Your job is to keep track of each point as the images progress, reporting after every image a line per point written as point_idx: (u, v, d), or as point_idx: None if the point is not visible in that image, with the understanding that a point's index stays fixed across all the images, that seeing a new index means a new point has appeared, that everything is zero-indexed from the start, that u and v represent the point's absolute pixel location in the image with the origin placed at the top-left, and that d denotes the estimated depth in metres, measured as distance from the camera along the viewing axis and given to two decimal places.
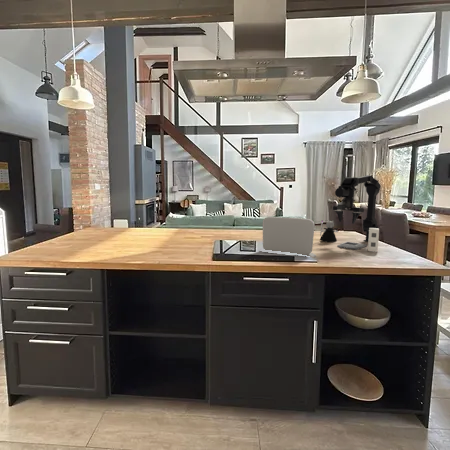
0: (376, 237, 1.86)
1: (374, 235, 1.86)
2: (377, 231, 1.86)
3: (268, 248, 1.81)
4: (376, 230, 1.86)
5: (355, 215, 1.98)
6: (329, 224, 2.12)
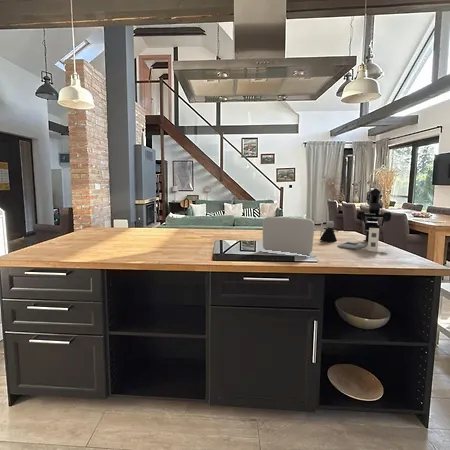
0: (376, 237, 1.86)
1: (374, 235, 1.86)
2: (377, 231, 1.86)
3: (268, 248, 1.81)
4: (376, 230, 1.86)
5: None
6: (329, 224, 2.12)
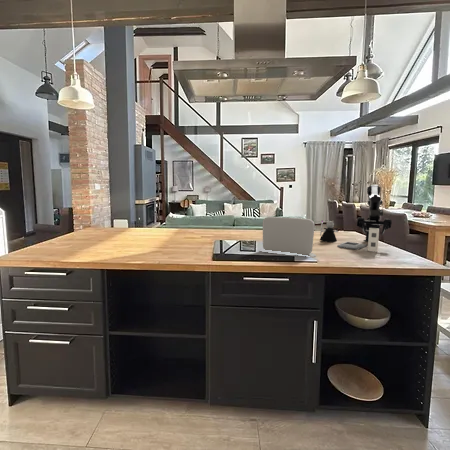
0: (376, 237, 1.86)
1: (374, 235, 1.86)
2: (377, 231, 1.86)
3: (268, 248, 1.81)
4: (376, 230, 1.86)
5: None
6: (329, 224, 2.12)
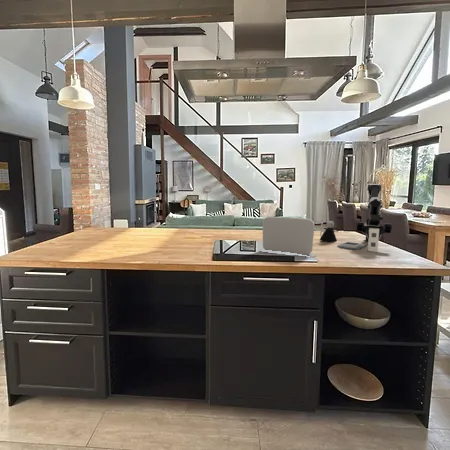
0: (376, 237, 1.86)
1: (374, 235, 1.86)
2: (377, 231, 1.86)
3: (268, 248, 1.81)
4: (376, 230, 1.86)
5: None
6: (329, 224, 2.12)
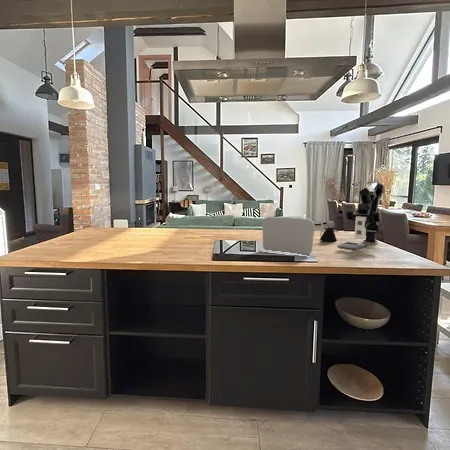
0: (361, 225, 1.90)
1: (360, 223, 1.90)
2: (363, 219, 1.89)
3: (268, 248, 1.81)
4: (362, 218, 1.89)
5: None
6: (329, 224, 2.12)
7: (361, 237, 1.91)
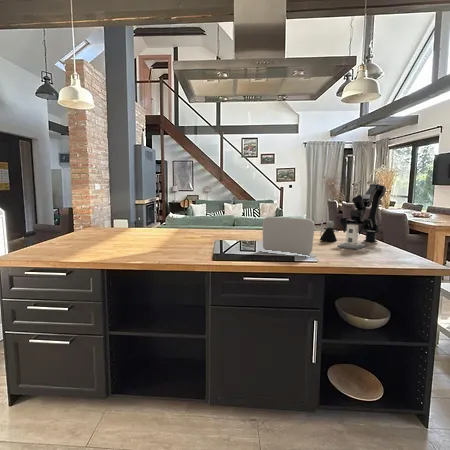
0: (352, 233, 1.94)
1: (351, 231, 1.94)
2: (353, 227, 1.93)
3: (268, 248, 1.81)
4: (352, 226, 1.93)
5: None
6: (329, 224, 2.12)
7: None
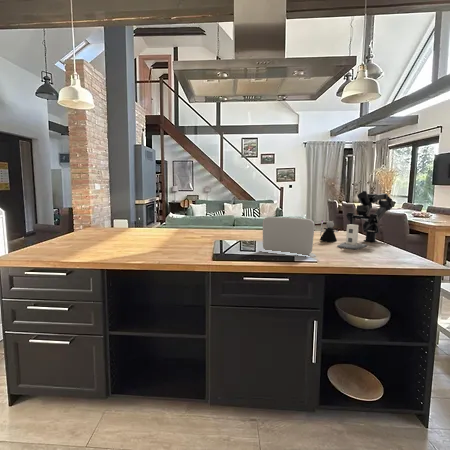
0: (352, 233, 1.94)
1: (351, 231, 1.94)
2: (353, 227, 1.93)
3: (268, 248, 1.81)
4: (352, 226, 1.93)
5: (369, 222, 2.02)
6: (329, 224, 2.12)
7: None
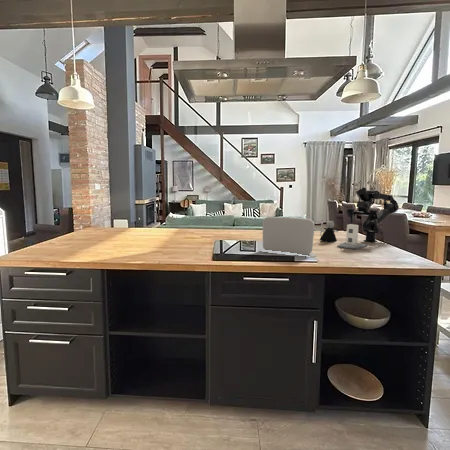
0: (352, 233, 1.94)
1: (351, 231, 1.94)
2: (353, 227, 1.93)
3: (268, 248, 1.81)
4: (352, 226, 1.93)
5: (369, 218, 2.04)
6: (329, 224, 2.12)
7: None
